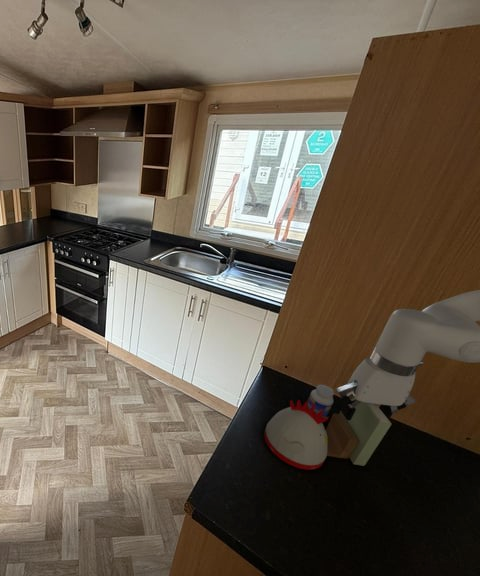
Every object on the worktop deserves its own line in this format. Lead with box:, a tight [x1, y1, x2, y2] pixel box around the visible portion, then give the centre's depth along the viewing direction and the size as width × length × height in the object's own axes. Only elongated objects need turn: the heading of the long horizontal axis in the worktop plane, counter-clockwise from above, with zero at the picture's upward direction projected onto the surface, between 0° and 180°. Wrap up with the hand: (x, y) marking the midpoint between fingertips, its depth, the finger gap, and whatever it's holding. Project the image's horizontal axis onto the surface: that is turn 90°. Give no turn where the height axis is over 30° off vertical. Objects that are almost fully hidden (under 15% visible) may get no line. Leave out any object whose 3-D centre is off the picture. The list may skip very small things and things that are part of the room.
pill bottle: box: [307, 384, 335, 418], centre depth 89 cm, size 5×5×10 cm
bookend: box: [325, 413, 358, 460], centre depth 81 cm, size 5×8×7 cm, turn 170°
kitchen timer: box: [263, 399, 330, 471], centre depth 79 cm, size 14×14×15 cm
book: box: [338, 391, 392, 467], centre depth 79 cm, size 15×11×2 cm
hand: (362, 417), depth 77 cm, fingers open, 7 cm apart
